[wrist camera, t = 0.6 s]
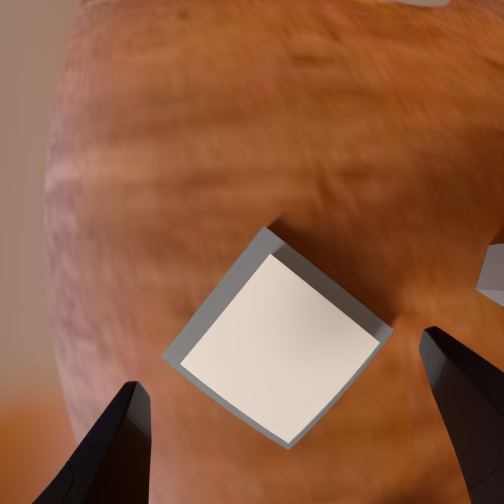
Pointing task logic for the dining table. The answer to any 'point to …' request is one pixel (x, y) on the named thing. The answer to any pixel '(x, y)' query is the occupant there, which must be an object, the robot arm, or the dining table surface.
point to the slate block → (493, 274)
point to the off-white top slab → (279, 351)
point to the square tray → (231, 287)
